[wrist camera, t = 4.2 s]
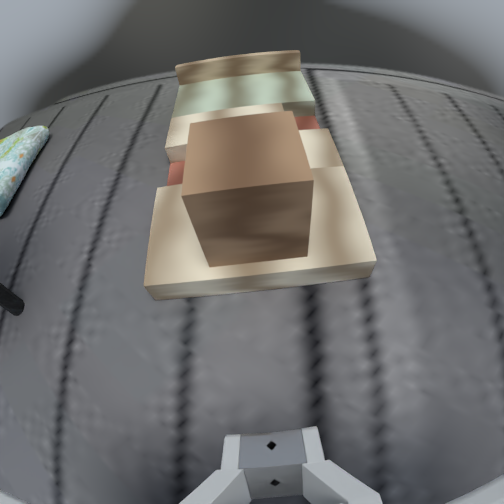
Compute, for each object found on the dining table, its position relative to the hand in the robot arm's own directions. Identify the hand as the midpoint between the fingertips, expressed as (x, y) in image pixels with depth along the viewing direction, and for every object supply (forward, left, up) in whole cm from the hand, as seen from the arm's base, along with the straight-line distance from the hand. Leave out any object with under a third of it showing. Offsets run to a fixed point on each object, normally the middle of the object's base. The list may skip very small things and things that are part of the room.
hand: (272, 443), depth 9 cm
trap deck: (0, -27, -11) cm, 29 cm away
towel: (+43, -33, -11) cm, 55 cm away
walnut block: (0, -16, -8) cm, 17 cm away
